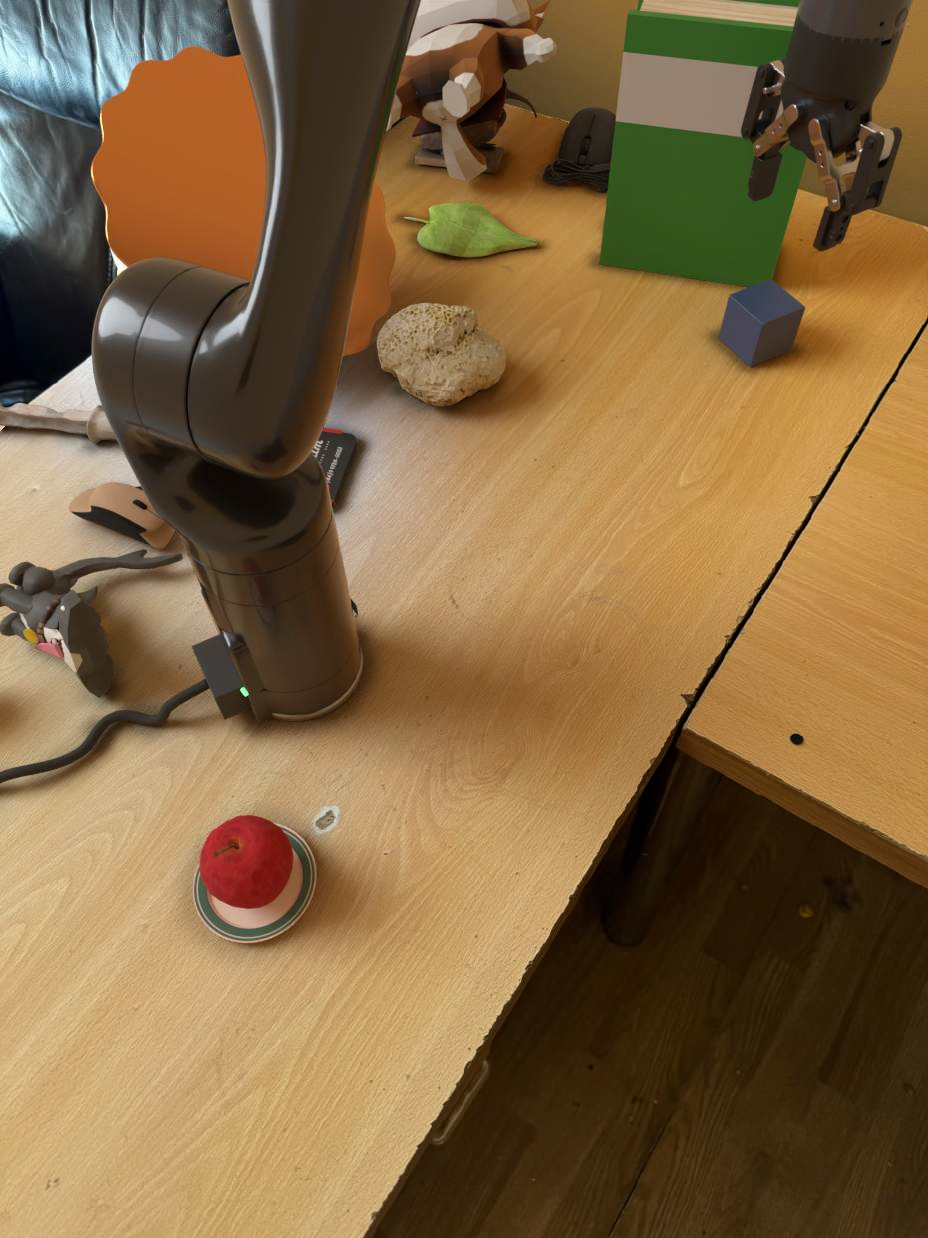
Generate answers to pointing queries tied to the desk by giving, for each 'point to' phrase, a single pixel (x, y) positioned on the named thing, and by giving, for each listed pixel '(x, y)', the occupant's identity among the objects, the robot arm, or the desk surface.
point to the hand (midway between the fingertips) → (791, 221)
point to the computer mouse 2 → (585, 150)
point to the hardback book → (696, 143)
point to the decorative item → (439, 353)
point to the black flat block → (335, 458)
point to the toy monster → (68, 613)
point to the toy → (465, 70)
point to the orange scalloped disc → (207, 178)
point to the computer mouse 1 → (123, 513)
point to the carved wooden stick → (59, 420)
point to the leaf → (467, 231)
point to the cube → (761, 322)
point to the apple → (253, 879)
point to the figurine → (469, 140)
